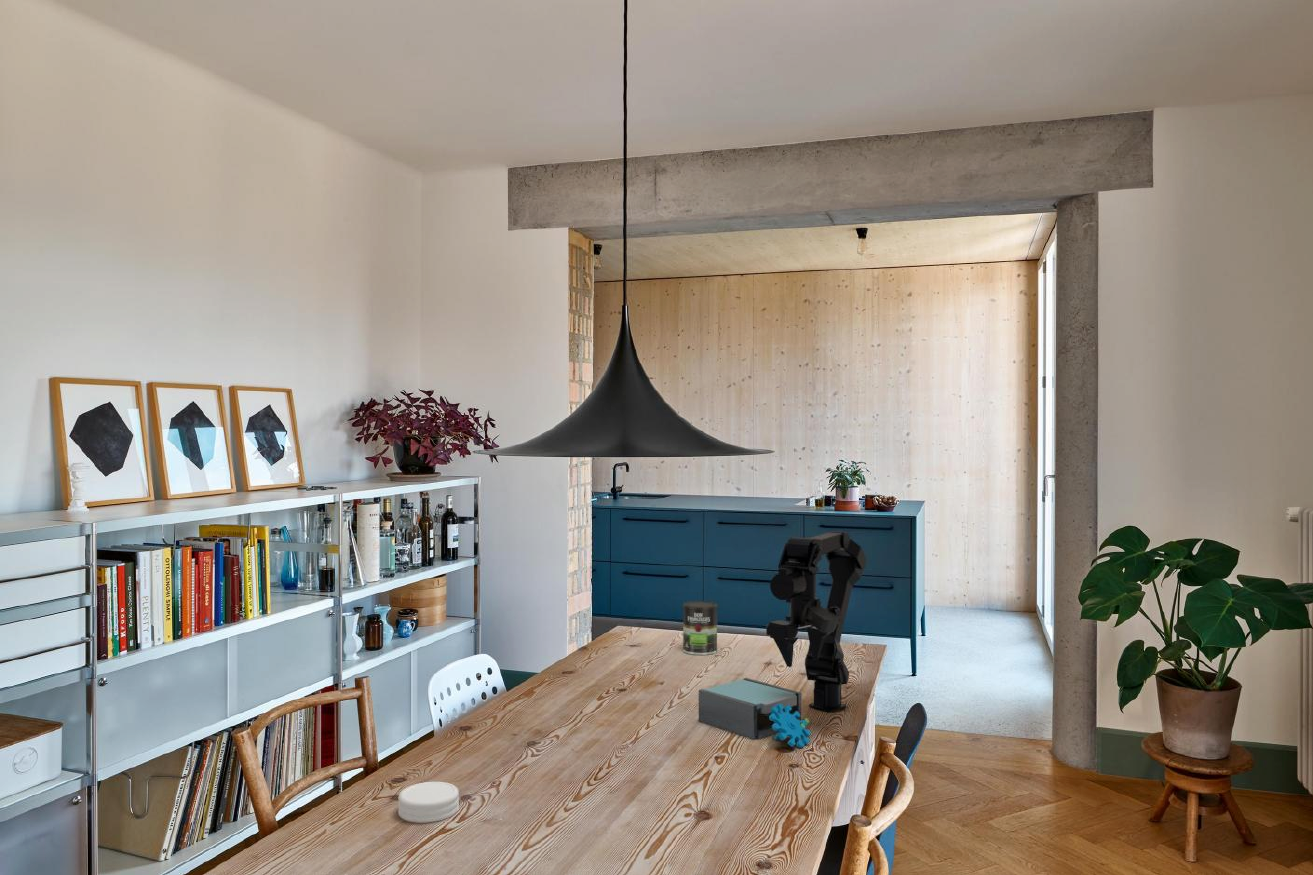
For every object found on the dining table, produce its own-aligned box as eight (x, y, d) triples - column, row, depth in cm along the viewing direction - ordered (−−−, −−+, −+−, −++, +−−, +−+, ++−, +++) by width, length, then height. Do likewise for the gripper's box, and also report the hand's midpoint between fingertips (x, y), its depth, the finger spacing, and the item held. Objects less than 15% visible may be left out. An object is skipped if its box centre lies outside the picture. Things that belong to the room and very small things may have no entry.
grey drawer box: (746, 707, 214) (746, 677, 214) (803, 724, 202) (803, 692, 202) (698, 721, 204) (698, 689, 204) (755, 740, 191) (755, 706, 191)
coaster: (402, 828, 148) (402, 807, 148) (394, 805, 157) (394, 785, 157) (464, 818, 152) (464, 797, 152) (452, 796, 161) (452, 777, 161)
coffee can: (715, 656, 265) (715, 607, 265) (680, 654, 267) (680, 606, 267) (719, 647, 275) (719, 601, 275) (685, 646, 277) (685, 600, 277)
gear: (788, 746, 183) (765, 702, 189) (770, 761, 186) (748, 718, 192) (823, 742, 190) (800, 700, 196) (806, 757, 193) (783, 715, 199)
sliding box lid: (742, 687, 214) (742, 679, 214) (801, 703, 201) (801, 694, 201) (703, 698, 205) (703, 689, 205) (761, 715, 192) (761, 705, 192)
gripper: (804, 603, 192) (804, 677, 192) (857, 593, 204) (857, 663, 204) (764, 596, 200) (764, 667, 200) (817, 587, 213) (817, 654, 213)
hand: (802, 663), depth 204 cm, fingers open, 9 cm apart
